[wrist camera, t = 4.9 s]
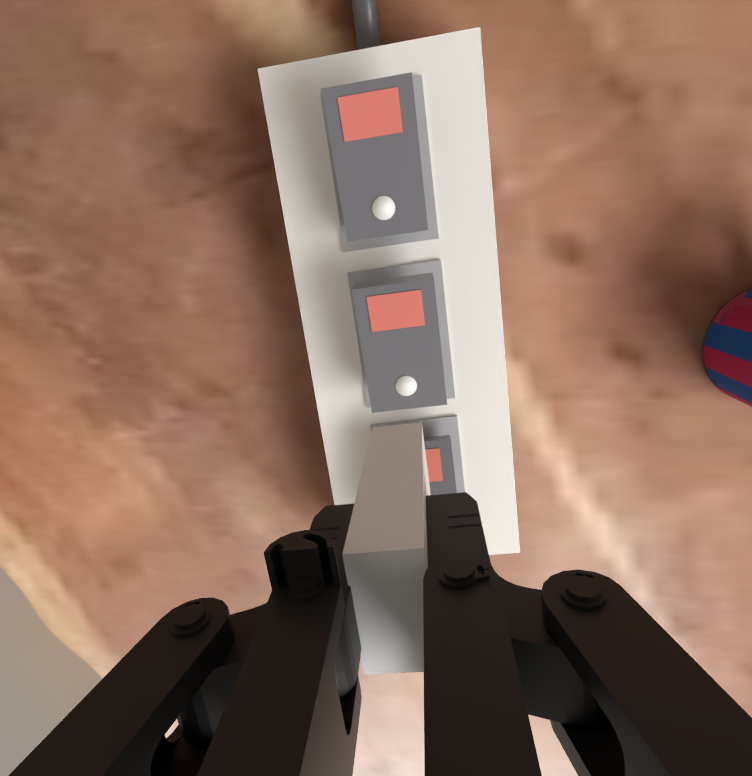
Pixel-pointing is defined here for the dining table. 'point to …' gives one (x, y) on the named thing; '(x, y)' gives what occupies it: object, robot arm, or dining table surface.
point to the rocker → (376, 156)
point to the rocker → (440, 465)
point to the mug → (731, 348)
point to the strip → (402, 259)
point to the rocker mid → (400, 342)
